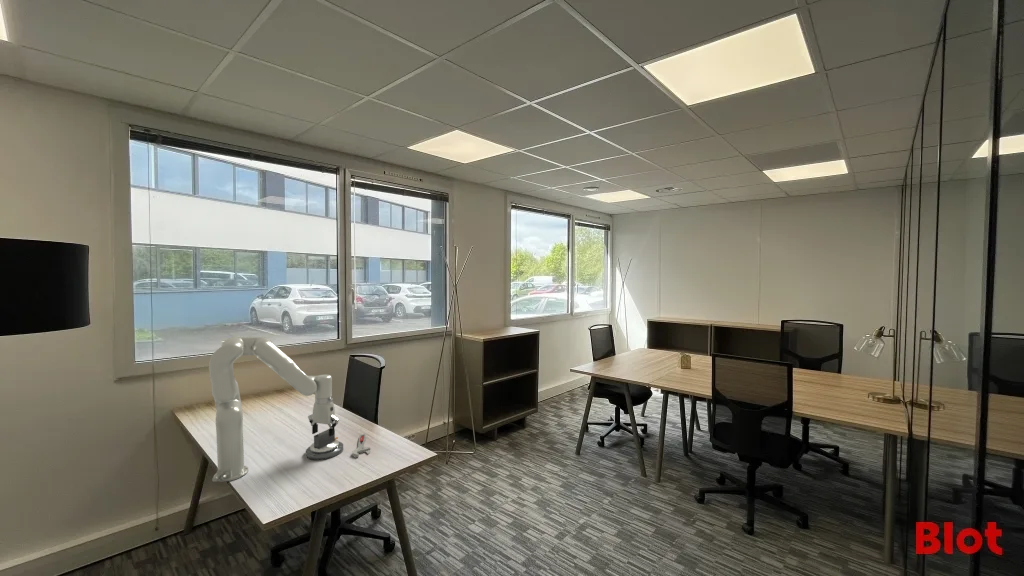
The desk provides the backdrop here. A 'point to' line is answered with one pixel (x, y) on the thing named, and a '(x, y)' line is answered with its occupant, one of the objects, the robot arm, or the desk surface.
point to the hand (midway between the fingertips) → (323, 434)
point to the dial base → (324, 455)
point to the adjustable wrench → (361, 447)
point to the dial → (324, 442)
